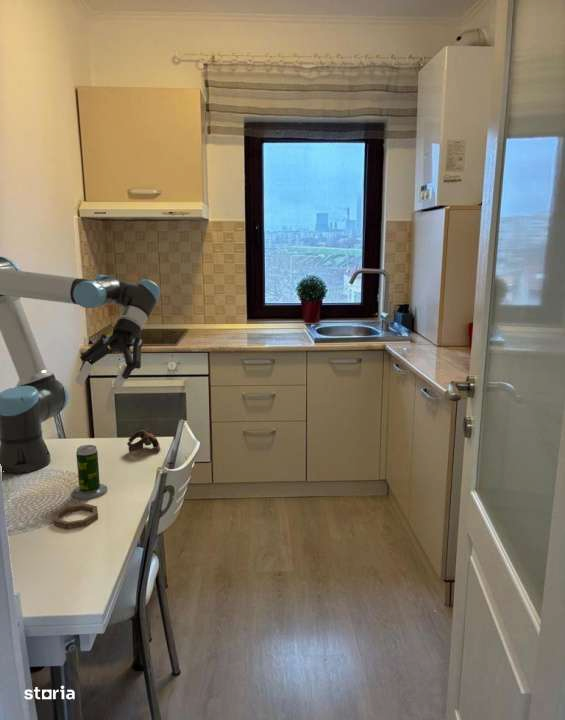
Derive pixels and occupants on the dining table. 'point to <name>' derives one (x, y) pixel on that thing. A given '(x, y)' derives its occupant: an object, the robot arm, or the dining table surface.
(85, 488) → the beer can
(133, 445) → the dark brown arched part
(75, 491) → the slate coaster
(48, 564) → the dining table surface
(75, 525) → the walnut ring
